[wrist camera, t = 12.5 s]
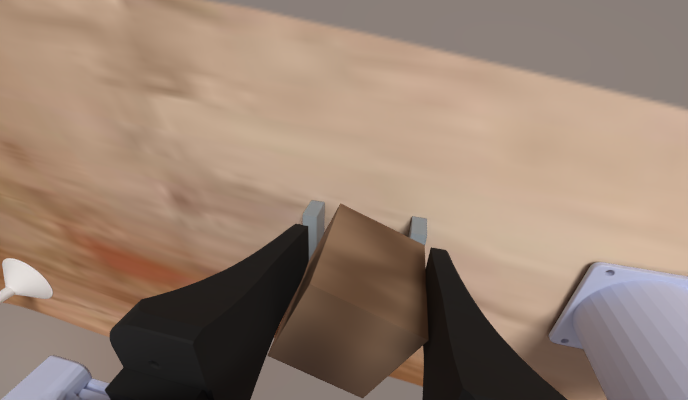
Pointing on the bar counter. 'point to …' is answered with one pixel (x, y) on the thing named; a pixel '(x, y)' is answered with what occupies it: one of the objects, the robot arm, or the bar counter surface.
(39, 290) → the champagne flute
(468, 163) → the bar counter surface
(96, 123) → the bar counter surface
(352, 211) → the walnut block
